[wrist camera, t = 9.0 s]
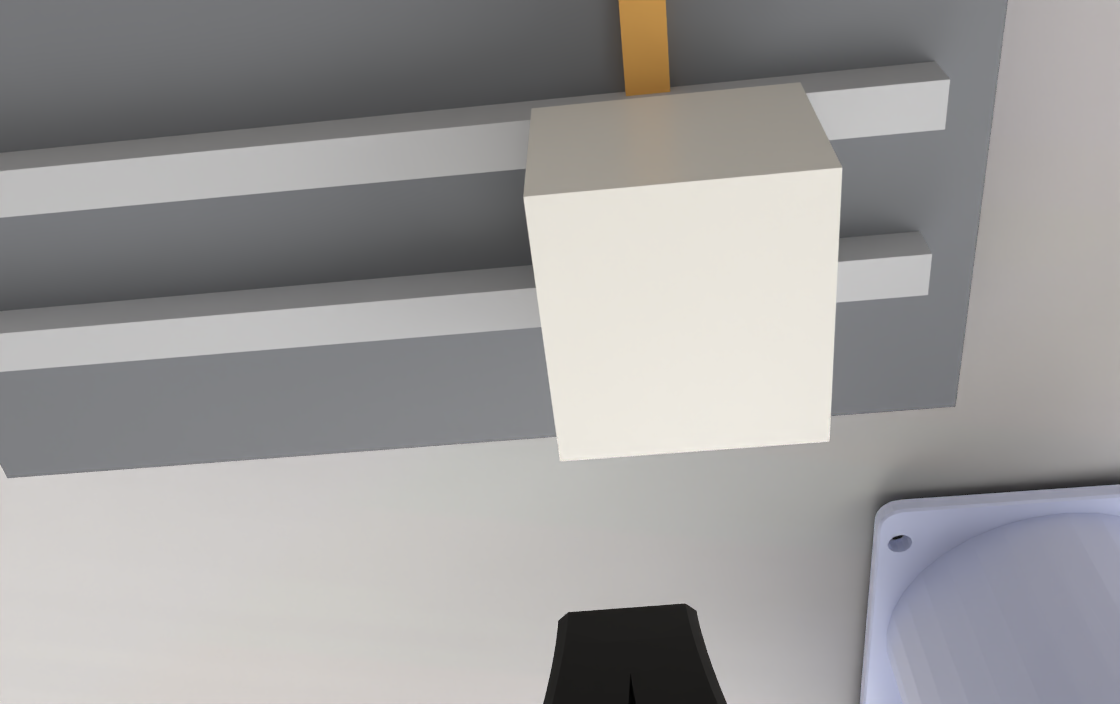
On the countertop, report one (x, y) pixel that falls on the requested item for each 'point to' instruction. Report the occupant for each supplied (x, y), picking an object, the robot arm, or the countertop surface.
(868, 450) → the countertop surface
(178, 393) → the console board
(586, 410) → the fader tab
